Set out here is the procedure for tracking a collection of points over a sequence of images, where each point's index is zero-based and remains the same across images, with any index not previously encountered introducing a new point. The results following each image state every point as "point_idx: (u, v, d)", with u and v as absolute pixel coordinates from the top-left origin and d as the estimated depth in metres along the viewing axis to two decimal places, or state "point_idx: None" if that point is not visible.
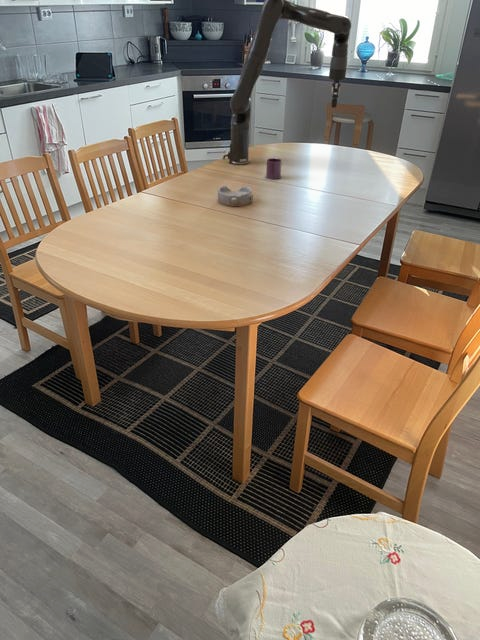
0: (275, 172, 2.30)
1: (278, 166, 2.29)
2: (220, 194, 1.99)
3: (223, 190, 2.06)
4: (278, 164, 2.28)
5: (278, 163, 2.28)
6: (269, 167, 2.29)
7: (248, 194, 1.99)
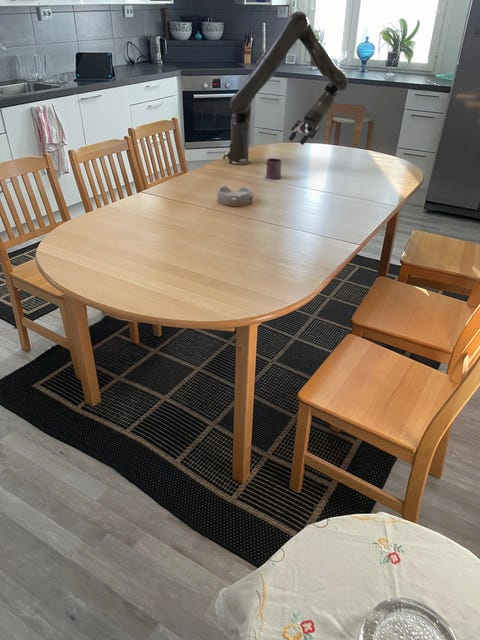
0: (275, 172, 2.30)
1: (278, 166, 2.29)
2: (220, 194, 1.99)
3: (223, 190, 2.06)
4: (278, 164, 2.28)
5: (278, 163, 2.28)
6: (269, 167, 2.29)
7: (248, 194, 1.99)
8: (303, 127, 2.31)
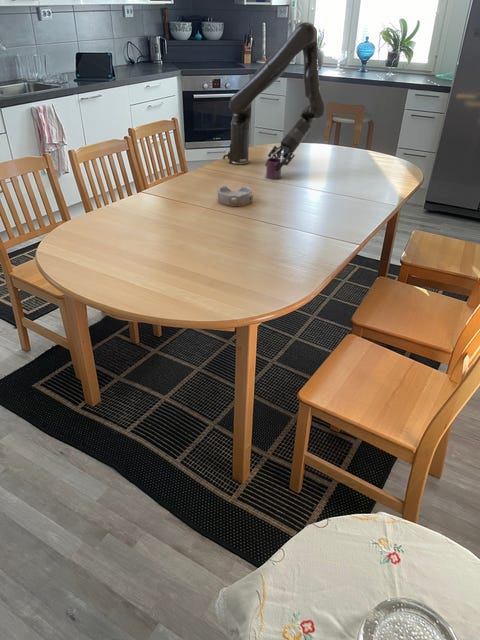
0: (275, 172, 2.30)
1: None
2: (220, 194, 1.99)
3: (223, 190, 2.06)
4: None
5: None
6: (269, 167, 2.29)
7: (248, 194, 1.99)
8: (279, 153, 2.30)
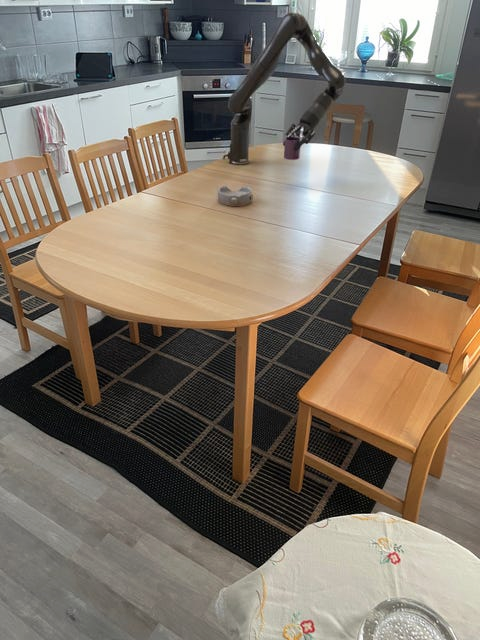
0: (294, 152, 2.10)
1: None
2: (220, 194, 1.99)
3: (223, 190, 2.06)
4: None
5: None
6: (287, 146, 2.10)
7: (248, 194, 1.99)
8: (298, 131, 2.10)
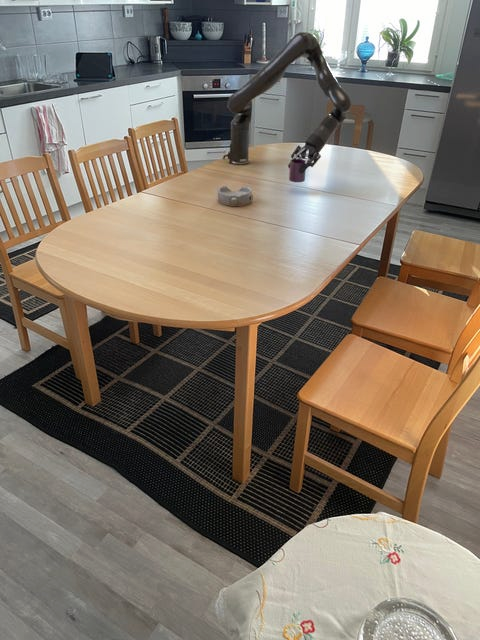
0: (299, 174, 2.09)
1: None
2: (220, 194, 1.99)
3: (223, 190, 2.06)
4: None
5: None
6: (293, 168, 2.08)
7: (248, 194, 1.99)
8: (304, 153, 2.09)
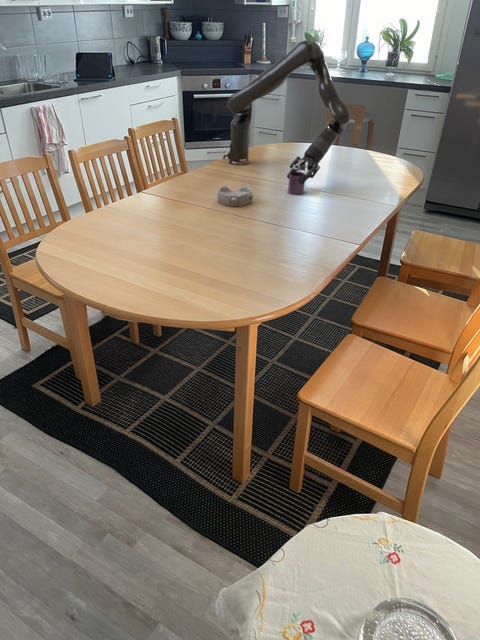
0: (298, 187, 2.12)
1: None
2: (220, 194, 1.99)
3: (223, 190, 2.06)
4: None
5: None
6: (292, 181, 2.11)
7: (248, 194, 1.99)
8: (303, 165, 2.12)
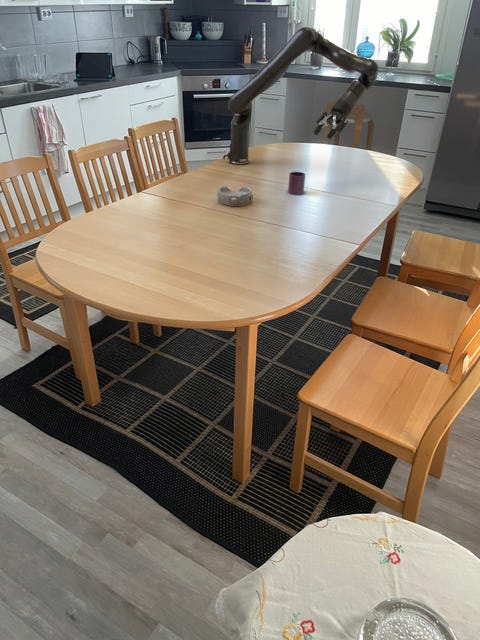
0: (298, 187, 2.12)
1: (302, 180, 2.11)
2: (220, 194, 1.99)
3: (223, 190, 2.06)
4: (302, 178, 2.10)
5: (302, 177, 2.10)
6: (292, 181, 2.11)
7: (248, 194, 1.99)
8: (330, 119, 2.08)
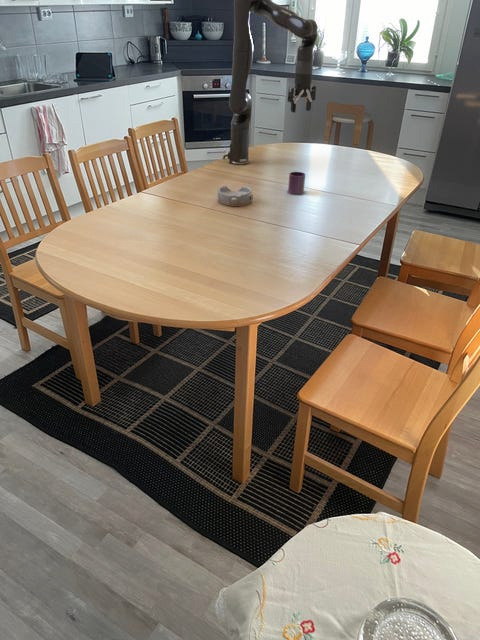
0: (298, 187, 2.12)
1: (302, 180, 2.11)
2: (220, 194, 1.99)
3: (223, 190, 2.06)
4: (302, 178, 2.10)
5: (302, 177, 2.10)
6: (292, 181, 2.11)
7: (248, 194, 1.99)
8: None
